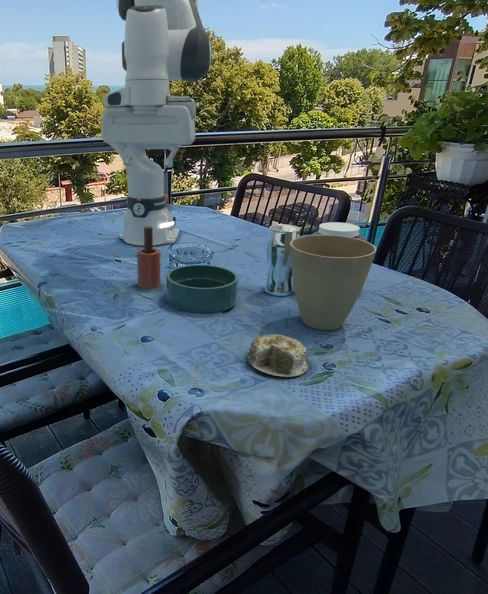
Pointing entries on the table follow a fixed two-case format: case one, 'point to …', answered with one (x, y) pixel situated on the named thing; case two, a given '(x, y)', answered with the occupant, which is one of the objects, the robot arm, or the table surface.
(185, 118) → the robot arm
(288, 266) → the shiny metal cylinder
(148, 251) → the stirring stick
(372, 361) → the table surface
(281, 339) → the cake
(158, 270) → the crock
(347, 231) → the jar
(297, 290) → the plant pot
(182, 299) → the bowl
